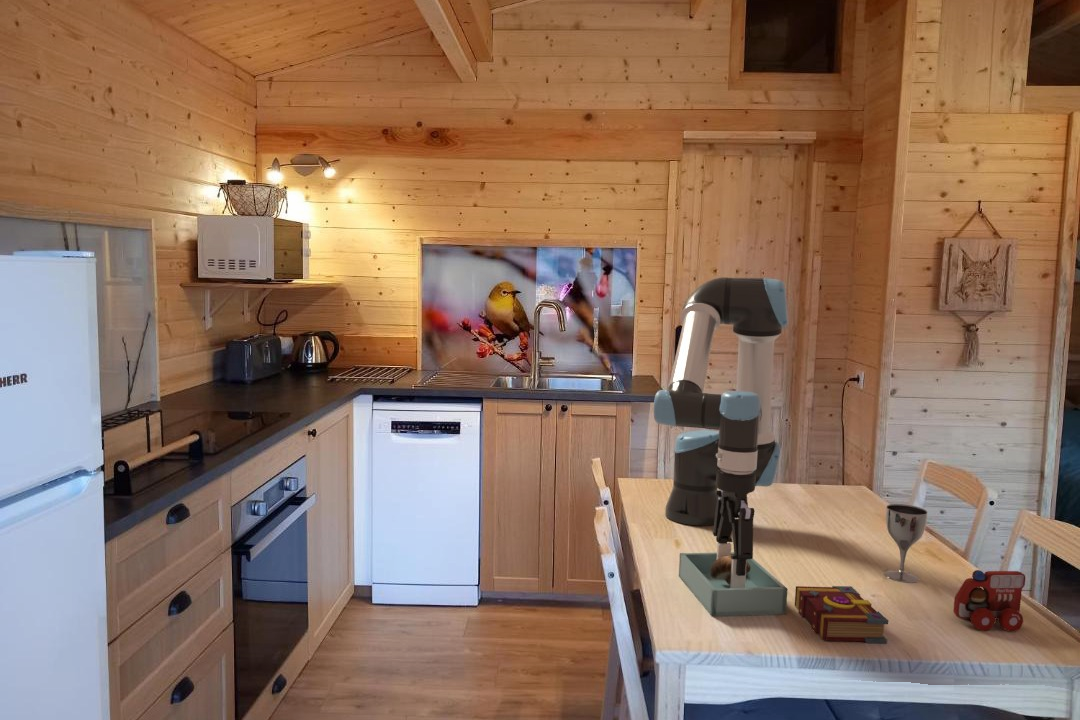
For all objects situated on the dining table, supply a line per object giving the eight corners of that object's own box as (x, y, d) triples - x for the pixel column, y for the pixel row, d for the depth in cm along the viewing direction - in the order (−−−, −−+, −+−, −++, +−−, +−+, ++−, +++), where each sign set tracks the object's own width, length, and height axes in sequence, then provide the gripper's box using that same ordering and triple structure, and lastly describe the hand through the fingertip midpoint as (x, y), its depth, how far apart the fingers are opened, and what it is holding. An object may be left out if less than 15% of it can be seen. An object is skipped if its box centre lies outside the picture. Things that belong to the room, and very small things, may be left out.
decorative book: (822, 643, 131) (824, 616, 130) (790, 604, 147) (792, 580, 146) (887, 645, 131) (889, 617, 130) (847, 606, 147) (849, 581, 146)
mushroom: (753, 579, 144) (743, 548, 147) (713, 590, 146) (703, 559, 149) (758, 585, 151) (747, 555, 154) (719, 596, 152) (710, 566, 155)
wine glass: (918, 572, 165) (924, 506, 164) (924, 585, 158) (930, 516, 156) (879, 567, 168) (884, 502, 166) (883, 580, 160) (888, 511, 159)
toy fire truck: (943, 614, 144) (947, 562, 143) (1006, 616, 144) (1011, 563, 143) (964, 631, 137) (968, 576, 136) (1030, 632, 137) (1036, 578, 136)
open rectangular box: (678, 576, 159) (679, 553, 158) (744, 574, 161) (745, 552, 160) (711, 616, 140) (713, 590, 139) (785, 614, 142) (787, 588, 141)
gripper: (700, 458, 157) (695, 564, 159) (738, 483, 137) (731, 603, 140) (734, 458, 158) (728, 563, 160) (776, 483, 138) (769, 602, 141)
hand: (729, 581), depth 150 cm, fingers closed on mushroom, 7 cm apart
